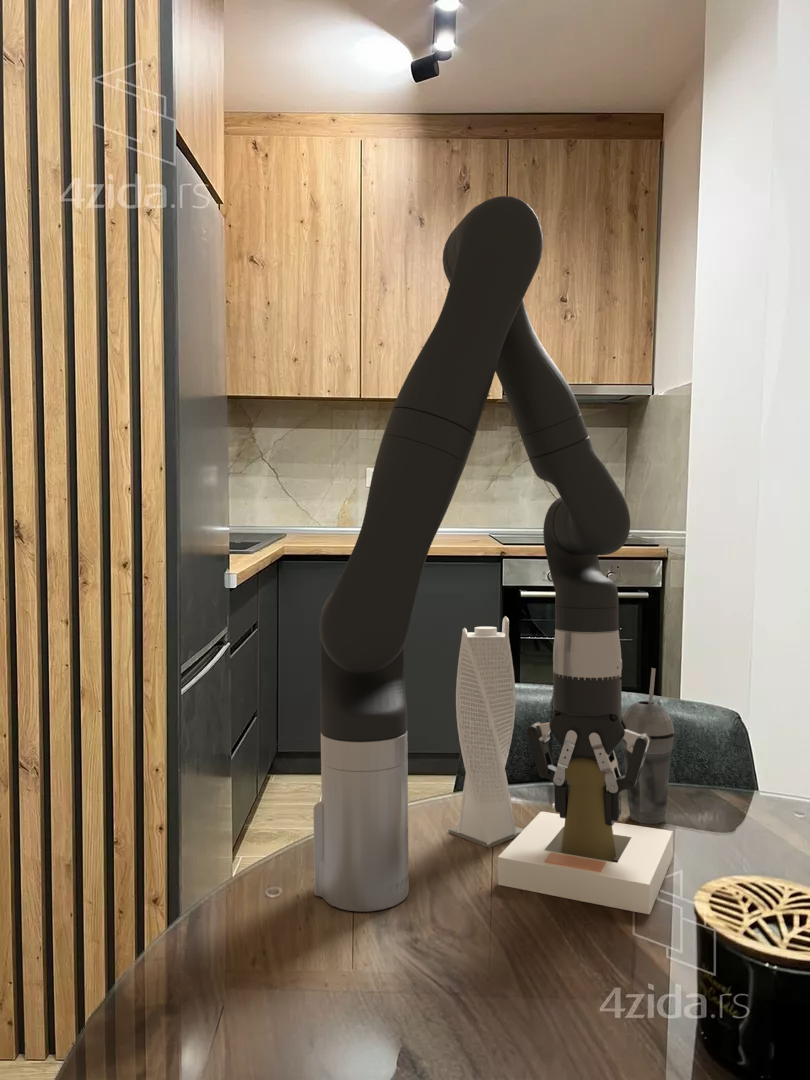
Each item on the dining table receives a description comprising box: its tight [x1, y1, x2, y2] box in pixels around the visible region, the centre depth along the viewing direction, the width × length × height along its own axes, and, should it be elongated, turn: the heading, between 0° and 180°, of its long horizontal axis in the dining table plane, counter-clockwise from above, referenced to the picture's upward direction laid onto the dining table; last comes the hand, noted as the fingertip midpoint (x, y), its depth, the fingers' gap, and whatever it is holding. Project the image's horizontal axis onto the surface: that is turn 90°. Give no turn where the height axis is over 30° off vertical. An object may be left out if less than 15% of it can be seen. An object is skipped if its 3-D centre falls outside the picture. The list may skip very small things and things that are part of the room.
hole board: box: [497, 811, 674, 916], centre depth 90 cm, size 16×16×3 cm
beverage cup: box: [620, 667, 676, 825], centre depth 107 cm, size 7×7×20 cm
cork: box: [561, 758, 616, 862], centre depth 90 cm, size 6×6×11 cm
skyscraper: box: [448, 615, 525, 849], centre depth 101 cm, size 8×8×28 cm
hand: (587, 819), depth 90 cm, fingers closed on cork, 4 cm apart
